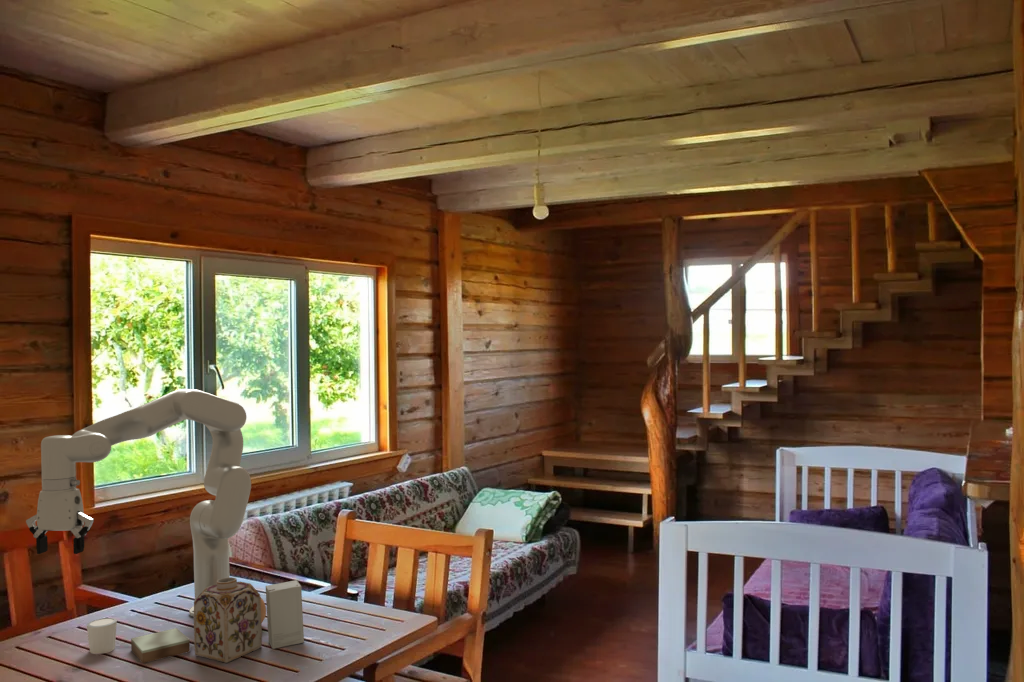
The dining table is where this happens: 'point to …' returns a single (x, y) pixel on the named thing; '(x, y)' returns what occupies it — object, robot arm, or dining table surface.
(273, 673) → the dining table surface
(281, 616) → the skincare box
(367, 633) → the dining table surface
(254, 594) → the decorative jar
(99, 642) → the beige cylinder
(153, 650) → the plinth
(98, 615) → the dining table surface
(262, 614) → the egg
